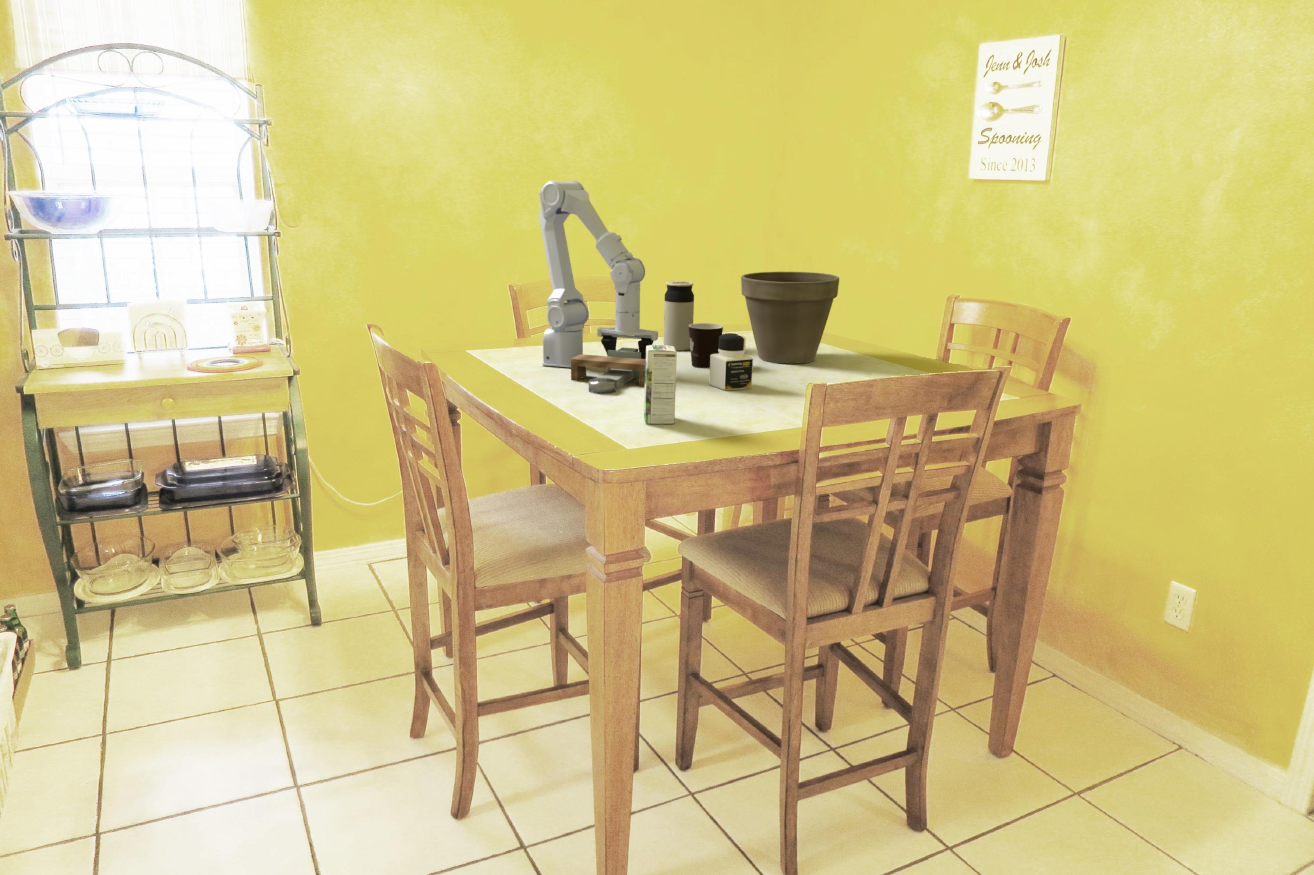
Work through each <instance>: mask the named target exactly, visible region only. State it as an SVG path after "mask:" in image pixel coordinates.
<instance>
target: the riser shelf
mask: <svg viewBox="0 0 1314 875" xmlns="http://www.w3.org/2000/svg"><path fill="white" fill-rule="evenodd" d="M645 366H646V359H636V358H623V357H610V356H606V355H597V354H596V355H593V354H584V353H583V354H580V355H578V356H576V357H574V358H572V359H571V368H570V381H575V382H578V381H580V380H582V378H585V377H586V376H587V367H589V368H598V369H599V368H600V369H601V368H602V369H607V368H610V369H623V370H635V371H640V373H639V378H638V379H639V380H638V381H639V385H638V386H639V387H645Z"/></svg>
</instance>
